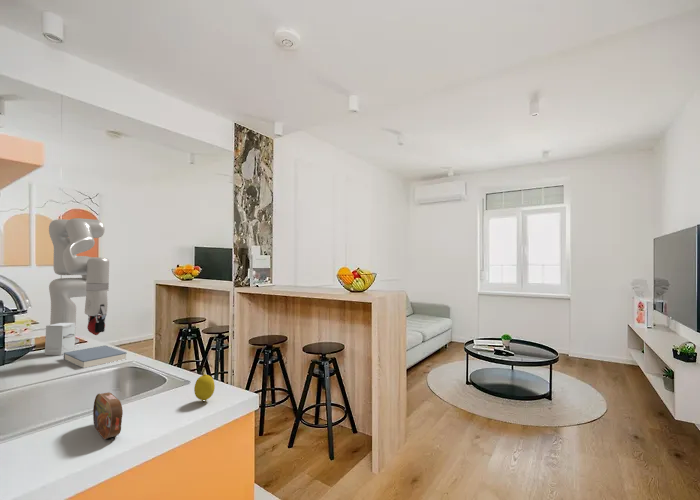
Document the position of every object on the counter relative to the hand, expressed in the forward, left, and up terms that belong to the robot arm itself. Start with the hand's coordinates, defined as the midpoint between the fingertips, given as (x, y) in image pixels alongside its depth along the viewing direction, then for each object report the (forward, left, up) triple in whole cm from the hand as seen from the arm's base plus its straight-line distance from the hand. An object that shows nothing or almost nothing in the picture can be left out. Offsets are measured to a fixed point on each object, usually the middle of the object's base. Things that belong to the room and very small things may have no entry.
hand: (96, 330), depth 143 cm
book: (0, 0, -12) cm, 12 cm away
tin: (+57, -48, -12) cm, 75 cm away
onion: (0, 0, -2) cm, 2 cm away
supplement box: (-23, +4, -12) cm, 26 cm away
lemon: (+69, -27, -12) cm, 75 cm away
